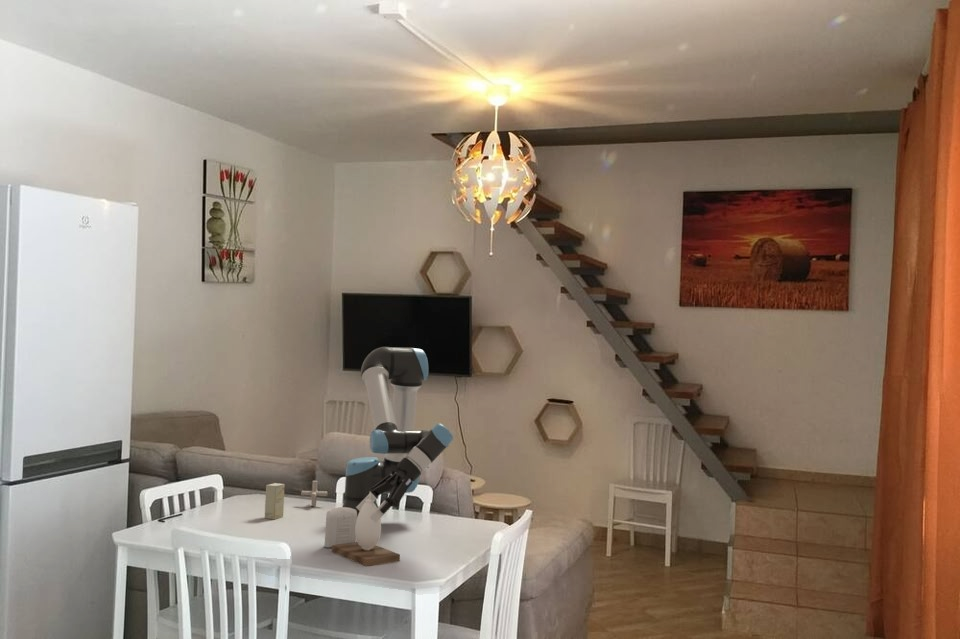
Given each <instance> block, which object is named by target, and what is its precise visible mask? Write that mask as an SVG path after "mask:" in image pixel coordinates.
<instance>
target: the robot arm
mask: <svg viewBox="0 0 960 639" xmlns="http://www.w3.org/2000/svg"><path fill="white" fill-rule="evenodd" d="M428 361H429V360H428V357H427V354H426V353H425V351H424V350H423V349H421V348H415V347H400V346H399V347H397V346H396V347H394V346H393V347H391V346H390V347H389V346H381V347H378V348H375V349H373V350H372V351H371V352H370V353H368V355H367V356H366V357H365V358H364V361H363V363H362V365H361V368H360V369H361V370H360V376H361V382H362V384H364V385H365V387H366V393H367V398H368V403H369V408H370V413H371V418H372V423H373V424H372V425H373V428H374V430H372V431H371V432H370V436H369V449H370V451H371V452H372V453H374V454H382V455H383V454H384V456H383V457H384V458H383V460H382V461H380V460H379V457H376V456H365V457H364V456H363V457H357V458H354V459H350V460H349V461H348V462H347V463H346V467H345V468H346V469H345V473H344V475H345V483H344V484H345V485H344V501H343V504H342V506H341V507H347V508H352V509H355V510H356V511H357V517H358V514H359V512H360V510H361V508H362V506H363V505H364V503H365V500H366V499H369V493H370V492H371V499H373V500H374V504H375V505H376V507H377V509H376V510H375V511H374V512H373V513H372V514H371V515H370V517H371V519H372V520H373V521H374V522H375V523H376V522H377V521H378V520H379V519H381V518H382V517H383V516H384V515H385V514H387V512H388V511H389V510H390V509H391V508H393V507H397V506H398V505H399V504H400V502H401V500H402V499H403V497H404V495H405V494H407V493H408V494H410V493H413V492H414V491H415V490H416V488H417V487H418V485H419V481H420V476H421V475H422V473H423V472H425V471H426V469H429V468H430V466H431V464H433V462H434V461H435V460H436V459H437V458H438V457H439V456H440V455H441V453H442V452H444V451H445V450H446V449H447V448H448V447H449V445H450V444H451V442H453V441H454V435H453V433H452V432H451V431H450V430H449V429H448V428H447V427H446V426H445V425H443V424H442V423H440V422H439V423H436V424H435V425H434V426H433V427H432V428H430V430H426V429H423V430H422V429H421V430H420V429H419V430H415V426H416V425H415V423H416V422H415V421H416V412H417V411H416V410H417V401H418V400H417V398H418V391H419V390H420V388H421V387H423V382H425V381H426V380H428V376H429V362H428ZM388 380H390V382H389V383H390V385H391V386H392V387H393V396H391V392H390V387H389V383H388ZM392 397H393V399H392ZM382 494H388V497H386V498H385V499H384V500H383V501H382V503H380V505H379V506H378V501H377V500H378V499H379V496H380V495H382Z"/></svg>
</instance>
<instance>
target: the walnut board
mask: <svg viewBox="0 0 960 639" xmlns="http://www.w3.org/2000/svg"><path fill="white" fill-rule="evenodd" d="M331 552H332V553H334V554H336V555H339V556H340V557H343V558H346V559H347V560H350V561H352V562H356V563H358V564H360V565H362V566H363V567H364V566H365V567H369V566H370V567H371V566H376V565H378V566H379V565H383V564H389V563H397V562H400V561H401V554H400V553H397V552H395V551H392V550H389V549H387V548H385V547H382V546H379V545H376V546H374V547H373V549H370V550H364V549H362V548H361V546H359V545H358V543H357V541H356V542H352V543H345V544H337V545H332V547H331Z"/></svg>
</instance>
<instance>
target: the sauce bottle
mask: <svg viewBox="0 0 960 639" xmlns="http://www.w3.org/2000/svg"><path fill="white" fill-rule="evenodd" d="M376 509H377V507H376V505H375V504H374V500H373V499H371V492H370V493H369V499H366V500H365V503H364V505H363V506H362V508H361V510H360V512H359V514H358V517H357V521H356V527H355V535H356V542H357V543H358V545H359V546H361V548H362V549H364V550H370V549H373V547H374V546H376V545H377V544H378V543H379V541H380V538H381V536H382V535H381V534H382V521H381V519H379V520H378V521H377V522H376V523H375V522H374V521H373V520H372V519H371V517H370V515H371V514H372V513H373V512H374V511H375V510H376ZM377 546H378V545H377Z"/></svg>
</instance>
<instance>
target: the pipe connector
mask: <svg viewBox="0 0 960 639" xmlns="http://www.w3.org/2000/svg"><path fill="white" fill-rule="evenodd" d="M300 494H301V496H307V497H308V496H309V497H310V498H311V504H310V505H311V506H316V507H317V497H328V491H326V490H325V491H323V490H321V491H320V490H319V491H318V480H312V488H311V490H301V493H300Z"/></svg>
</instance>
